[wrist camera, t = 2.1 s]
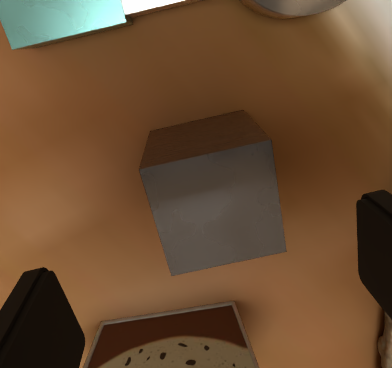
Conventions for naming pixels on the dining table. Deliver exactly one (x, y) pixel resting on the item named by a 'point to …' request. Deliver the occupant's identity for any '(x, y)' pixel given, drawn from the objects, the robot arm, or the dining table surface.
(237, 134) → the brushed metal cube
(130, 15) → the ratchet
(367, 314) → the dining table surface
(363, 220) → the robot arm
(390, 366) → the elongated rock
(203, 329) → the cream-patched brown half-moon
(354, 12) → the dining table surface
